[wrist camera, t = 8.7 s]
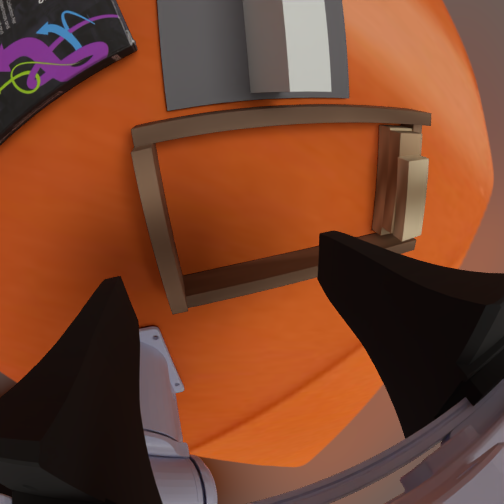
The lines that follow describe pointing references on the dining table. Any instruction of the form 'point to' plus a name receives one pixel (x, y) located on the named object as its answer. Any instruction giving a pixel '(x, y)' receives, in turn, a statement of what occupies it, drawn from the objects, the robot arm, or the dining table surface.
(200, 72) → the mat
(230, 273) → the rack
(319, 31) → the light grey block
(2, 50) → the box
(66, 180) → the dining table surface
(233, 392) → the dining table surface
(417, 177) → the offcuts
